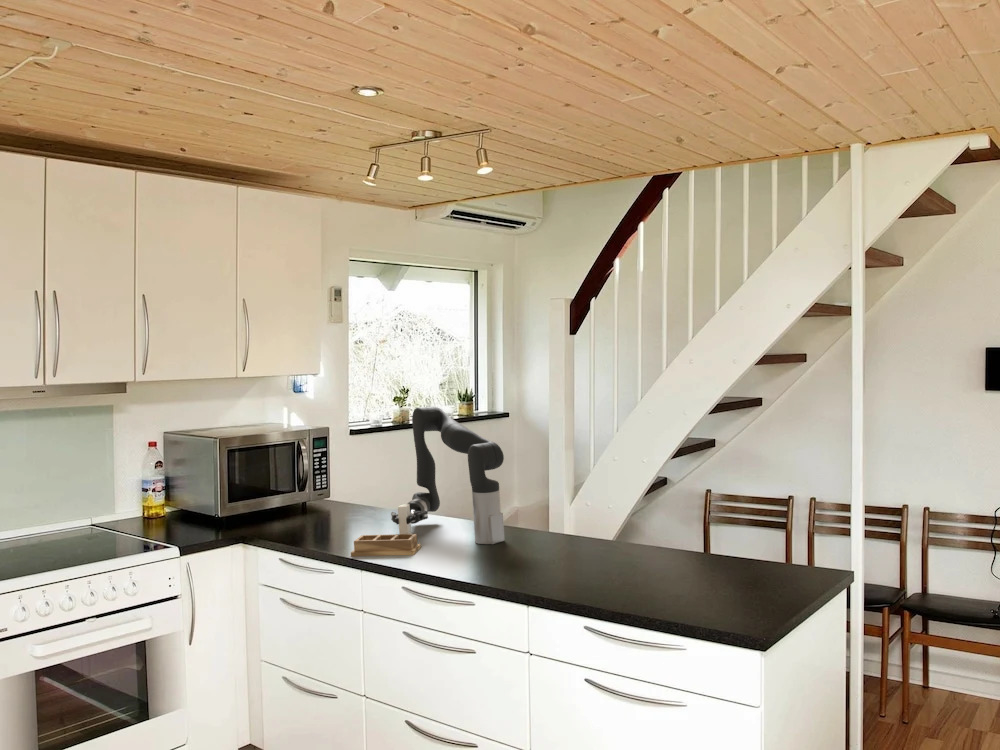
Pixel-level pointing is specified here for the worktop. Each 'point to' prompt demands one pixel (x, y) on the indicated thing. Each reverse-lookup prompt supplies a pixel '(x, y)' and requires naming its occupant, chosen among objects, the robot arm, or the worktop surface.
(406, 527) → the pale wooden block
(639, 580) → the worktop surface
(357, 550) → the wooden compartment tray
